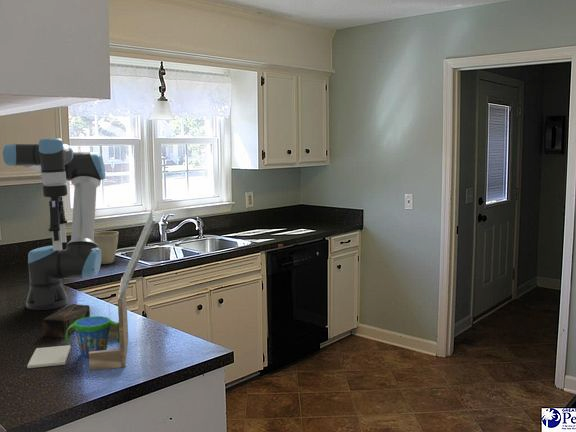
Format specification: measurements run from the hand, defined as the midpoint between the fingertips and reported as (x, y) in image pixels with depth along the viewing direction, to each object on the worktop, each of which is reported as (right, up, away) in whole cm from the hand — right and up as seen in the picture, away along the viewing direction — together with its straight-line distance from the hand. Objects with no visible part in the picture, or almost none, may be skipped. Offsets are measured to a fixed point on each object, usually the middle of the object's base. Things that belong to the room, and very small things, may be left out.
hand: (60, 246), depth 192 cm
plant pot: (-20, -15, +108) cm, 111 cm away
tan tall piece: (+29, -31, -19) cm, 46 cm away
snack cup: (+19, -32, -21) cm, 43 cm away
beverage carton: (+2, -29, +2) cm, 29 cm away
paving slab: (+7, -32, -24) cm, 41 cm away
